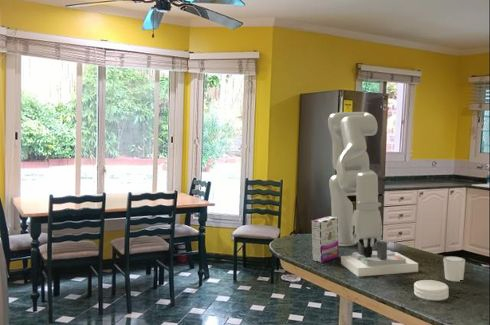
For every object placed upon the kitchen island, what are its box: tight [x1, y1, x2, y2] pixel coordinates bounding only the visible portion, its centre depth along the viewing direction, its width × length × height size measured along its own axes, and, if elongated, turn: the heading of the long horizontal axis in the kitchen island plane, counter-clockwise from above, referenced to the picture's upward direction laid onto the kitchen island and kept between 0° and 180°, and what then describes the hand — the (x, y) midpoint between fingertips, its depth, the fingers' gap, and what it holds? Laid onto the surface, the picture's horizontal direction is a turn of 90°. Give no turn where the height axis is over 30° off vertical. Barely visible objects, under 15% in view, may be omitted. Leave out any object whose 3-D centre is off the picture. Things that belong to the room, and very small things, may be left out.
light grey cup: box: [442, 255, 466, 282], centre depth 158 cm, size 7×7×7 cm
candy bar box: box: [311, 215, 340, 263], centre depth 186 cm, size 11×5×16 cm, turn 131°
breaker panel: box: [340, 242, 419, 277], centre depth 173 cm, size 16×23×10 cm
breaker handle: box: [376, 240, 388, 259], centre depth 168 cm, size 3×2×6 cm
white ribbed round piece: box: [413, 279, 450, 302], centre depth 144 cm, size 10×10×4 cm
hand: (367, 256), depth 168 cm, fingers closed
